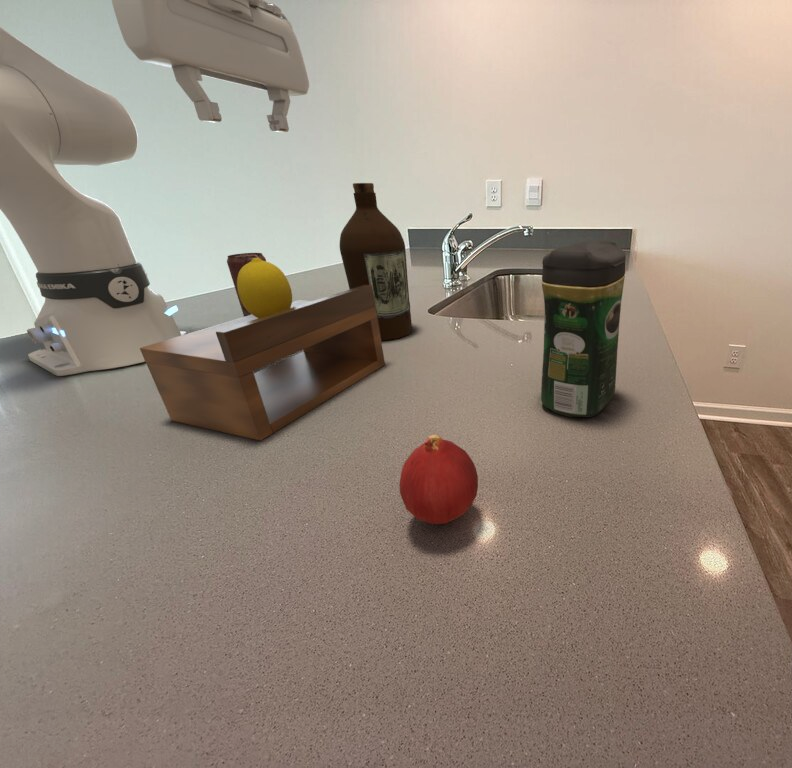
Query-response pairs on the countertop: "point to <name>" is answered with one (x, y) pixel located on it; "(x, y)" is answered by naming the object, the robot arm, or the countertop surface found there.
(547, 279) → the coffee jar
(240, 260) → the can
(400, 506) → the countertop surface
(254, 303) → the lemon
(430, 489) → the onion
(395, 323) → the olive oil
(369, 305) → the shelf
